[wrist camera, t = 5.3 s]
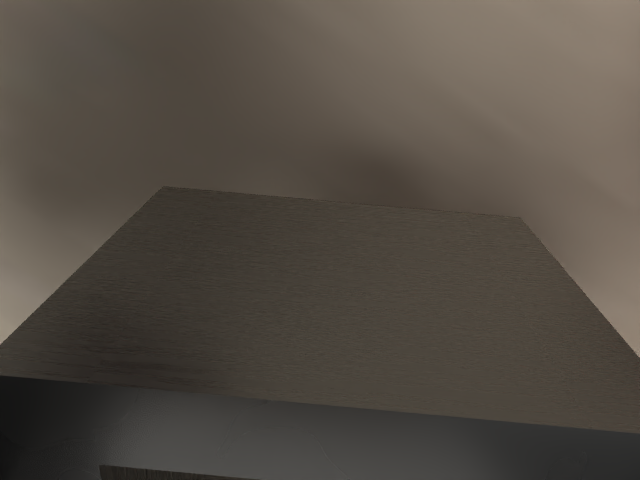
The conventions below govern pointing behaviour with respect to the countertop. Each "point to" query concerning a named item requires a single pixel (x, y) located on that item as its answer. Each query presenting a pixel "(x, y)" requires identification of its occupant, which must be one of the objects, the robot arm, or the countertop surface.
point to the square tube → (317, 352)
